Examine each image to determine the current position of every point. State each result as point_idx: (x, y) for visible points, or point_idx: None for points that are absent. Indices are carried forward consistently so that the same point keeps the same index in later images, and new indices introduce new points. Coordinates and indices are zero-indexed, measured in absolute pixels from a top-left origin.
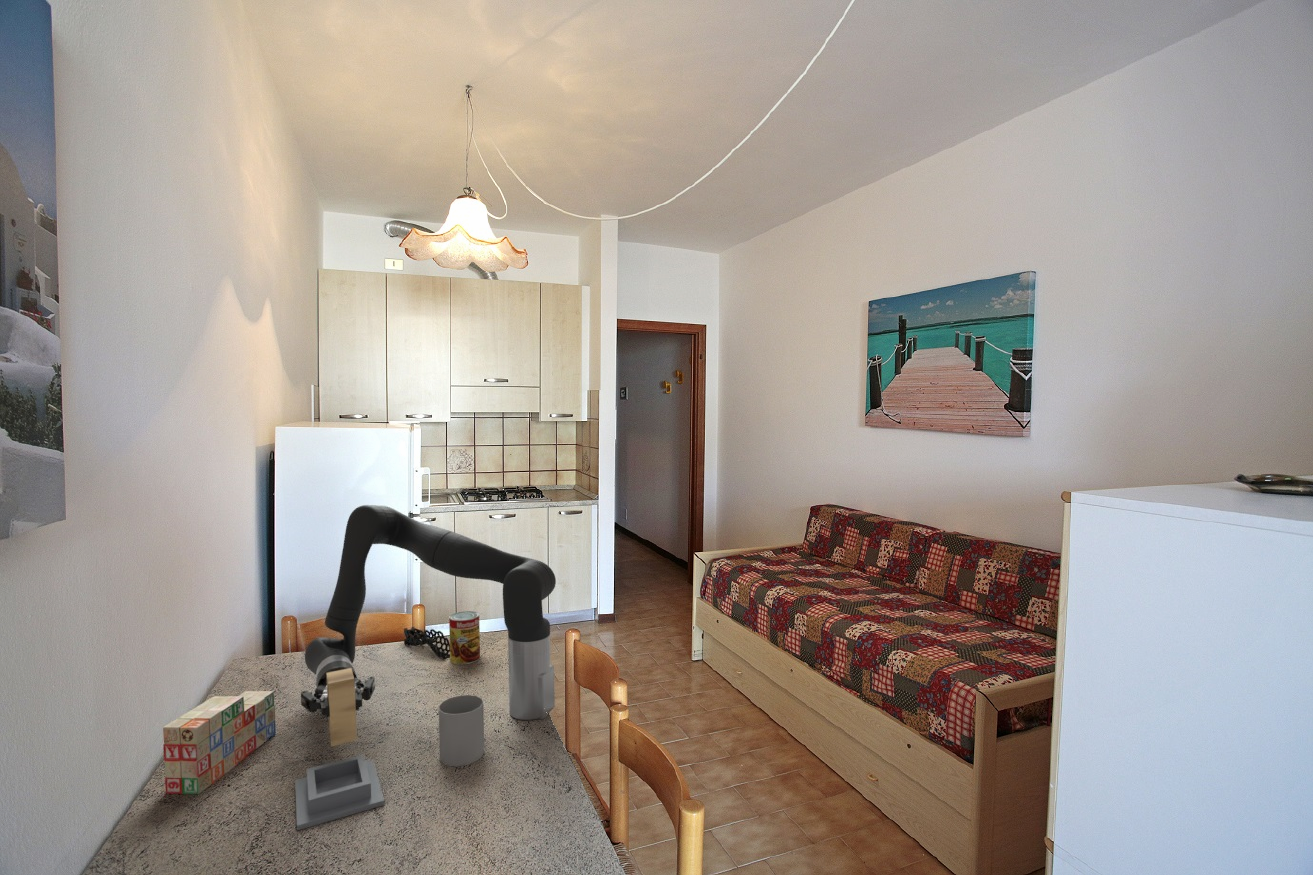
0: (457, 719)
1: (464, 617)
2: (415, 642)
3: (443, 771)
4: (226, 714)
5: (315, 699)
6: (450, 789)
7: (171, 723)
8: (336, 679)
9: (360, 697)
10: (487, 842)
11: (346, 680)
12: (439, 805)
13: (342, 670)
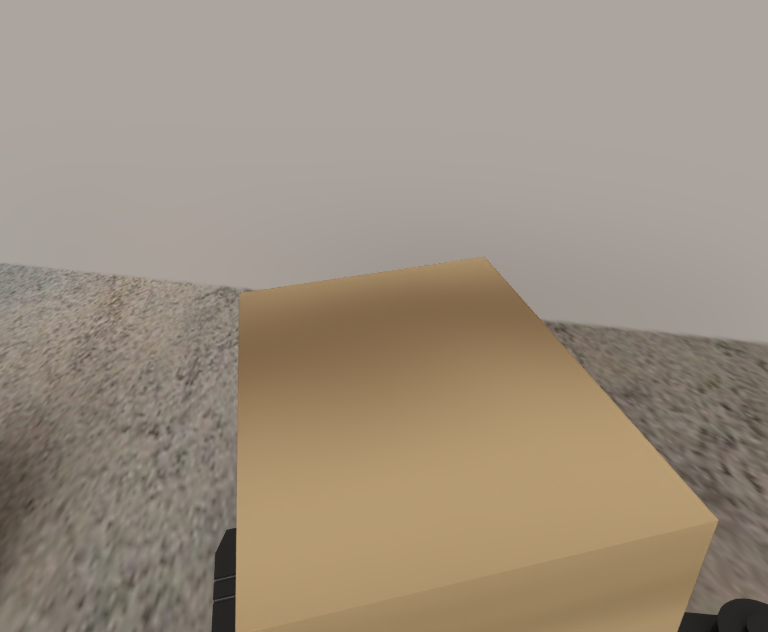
0: None
1: None
2: None
3: (13, 543)
4: None
5: (717, 618)
6: (58, 445)
7: None
8: (428, 304)
9: (227, 582)
10: (95, 304)
11: (319, 288)
12: (120, 395)
13: (412, 542)
